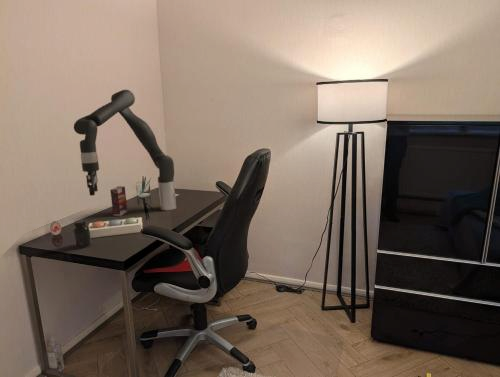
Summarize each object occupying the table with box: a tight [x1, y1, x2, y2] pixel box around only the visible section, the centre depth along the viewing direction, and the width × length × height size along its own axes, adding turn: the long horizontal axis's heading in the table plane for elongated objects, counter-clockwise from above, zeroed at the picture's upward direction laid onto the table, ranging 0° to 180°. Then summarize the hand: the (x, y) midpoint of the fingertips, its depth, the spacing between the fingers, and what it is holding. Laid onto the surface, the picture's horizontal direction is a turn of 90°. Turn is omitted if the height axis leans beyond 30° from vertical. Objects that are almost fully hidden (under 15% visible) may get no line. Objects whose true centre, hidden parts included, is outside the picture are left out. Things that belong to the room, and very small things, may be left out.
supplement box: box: [110, 185, 129, 217], centre depth 210 cm, size 9×5×16 cm, turn 168°
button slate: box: [108, 219, 121, 227], centre depth 182 cm, size 6×6×3 cm
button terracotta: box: [91, 220, 105, 228], centre depth 180 cm, size 6×6×3 cm
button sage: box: [125, 217, 138, 225], centre depth 184 cm, size 6×6×3 cm
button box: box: [87, 217, 143, 239], centre depth 182 cm, size 26×12×4 cm, turn 105°
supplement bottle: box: [72, 219, 92, 249], centre depth 164 cm, size 7×7×12 cm
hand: (93, 193), depth 177 cm, fingers open, 8 cm apart
